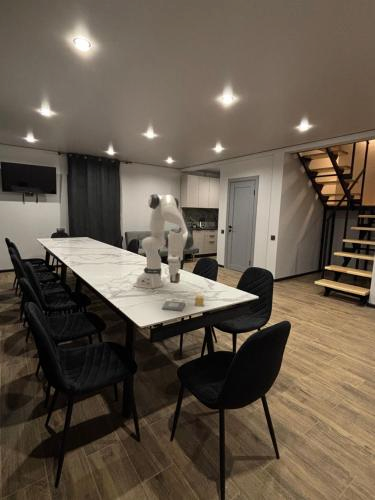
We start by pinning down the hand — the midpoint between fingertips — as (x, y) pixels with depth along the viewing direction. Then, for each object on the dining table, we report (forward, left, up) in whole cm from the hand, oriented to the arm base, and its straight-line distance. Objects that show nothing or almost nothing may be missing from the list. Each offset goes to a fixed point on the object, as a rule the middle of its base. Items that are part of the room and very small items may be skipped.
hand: (174, 279), depth 160 cm
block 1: (0, 0, -2) cm, 2 cm away
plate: (0, 0, -17) cm, 17 cm away
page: (-1, +12, -17) cm, 21 cm away
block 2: (+15, +8, -17) cm, 24 cm away
